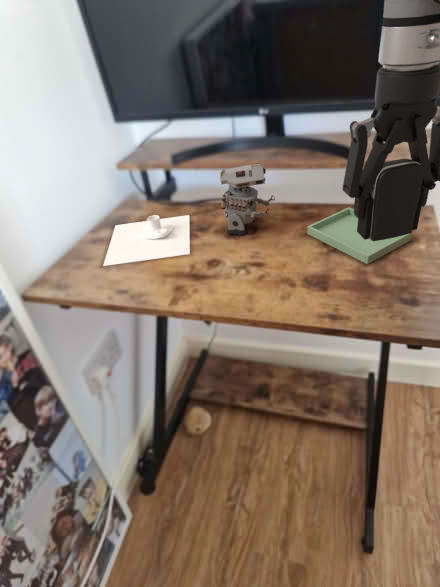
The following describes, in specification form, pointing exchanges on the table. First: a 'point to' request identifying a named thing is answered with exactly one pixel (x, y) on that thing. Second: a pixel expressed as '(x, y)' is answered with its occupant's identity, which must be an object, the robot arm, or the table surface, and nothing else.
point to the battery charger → (395, 199)
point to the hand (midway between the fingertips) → (386, 230)
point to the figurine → (242, 196)
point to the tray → (352, 237)
